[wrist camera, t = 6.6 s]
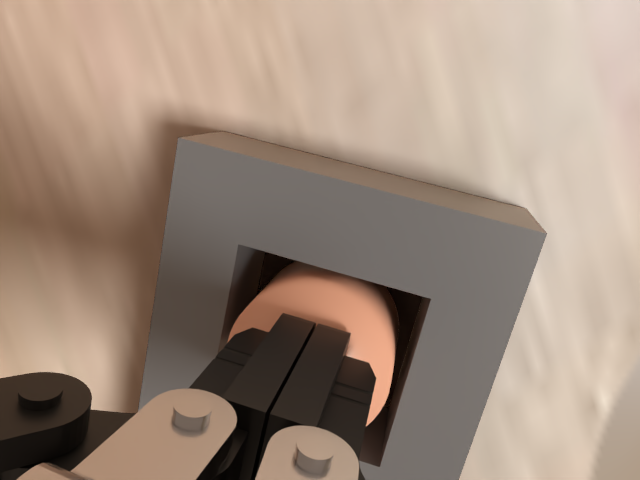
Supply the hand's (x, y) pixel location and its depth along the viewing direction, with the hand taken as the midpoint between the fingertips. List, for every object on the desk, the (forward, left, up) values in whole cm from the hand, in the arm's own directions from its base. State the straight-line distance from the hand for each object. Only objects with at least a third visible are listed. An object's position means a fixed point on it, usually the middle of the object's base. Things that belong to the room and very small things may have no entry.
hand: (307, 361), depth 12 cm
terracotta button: (0, 0, -2) cm, 2 cm away
